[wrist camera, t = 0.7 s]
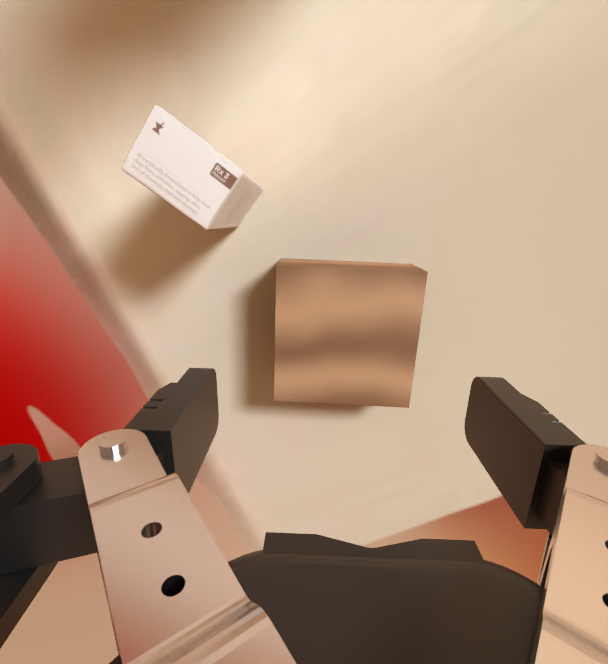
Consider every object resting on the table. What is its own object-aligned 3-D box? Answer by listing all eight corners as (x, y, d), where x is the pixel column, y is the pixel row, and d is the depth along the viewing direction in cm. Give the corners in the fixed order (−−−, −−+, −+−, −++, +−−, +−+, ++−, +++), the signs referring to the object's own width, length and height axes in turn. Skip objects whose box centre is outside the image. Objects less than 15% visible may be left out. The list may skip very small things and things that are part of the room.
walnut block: (281, 258, 34) (276, 265, 30) (411, 264, 34) (427, 271, 29) (279, 377, 38) (273, 400, 33) (397, 383, 38) (408, 407, 33)
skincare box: (183, 186, 33) (111, 170, 21) (210, 141, 32) (149, 98, 20) (241, 229, 34) (202, 236, 22) (269, 187, 33) (243, 171, 21)
